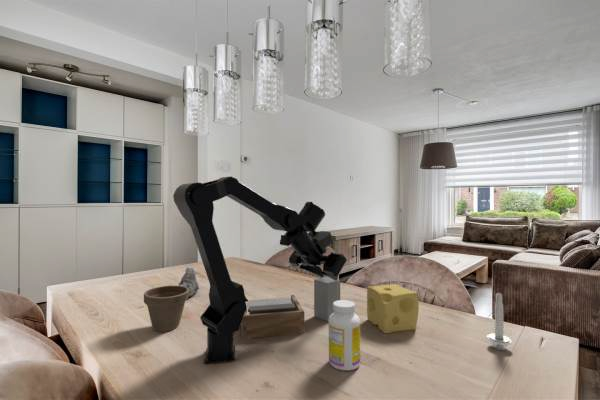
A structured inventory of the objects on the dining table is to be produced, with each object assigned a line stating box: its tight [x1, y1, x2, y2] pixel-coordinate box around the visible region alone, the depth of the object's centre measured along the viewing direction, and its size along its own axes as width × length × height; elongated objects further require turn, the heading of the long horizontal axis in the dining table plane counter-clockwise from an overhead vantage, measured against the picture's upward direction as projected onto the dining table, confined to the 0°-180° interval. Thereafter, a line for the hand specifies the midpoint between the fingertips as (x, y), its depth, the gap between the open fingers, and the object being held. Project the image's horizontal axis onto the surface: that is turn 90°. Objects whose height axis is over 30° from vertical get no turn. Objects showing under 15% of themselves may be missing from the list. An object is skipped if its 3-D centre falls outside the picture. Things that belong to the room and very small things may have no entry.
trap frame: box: [241, 294, 305, 339], centre depth 87 cm, size 14×16×6 cm
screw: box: [486, 292, 512, 351], centre depth 73 cm, size 13×5×5 cm
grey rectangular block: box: [313, 276, 341, 323], centre depth 92 cm, size 6×6×11 cm
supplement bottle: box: [328, 299, 361, 372], centre depth 66 cm, size 7×7×13 cm
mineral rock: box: [178, 267, 200, 297], centre depth 113 cm, size 13×11×10 cm
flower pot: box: [143, 285, 190, 333], centre depth 85 cm, size 12×11×10 cm
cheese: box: [366, 283, 420, 334], centre depth 87 cm, size 10×11×10 cm
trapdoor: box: [246, 297, 295, 314], centre depth 87 cm, size 12×13×3 cm
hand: (329, 277), depth 93 cm, fingers open, 5 cm apart
